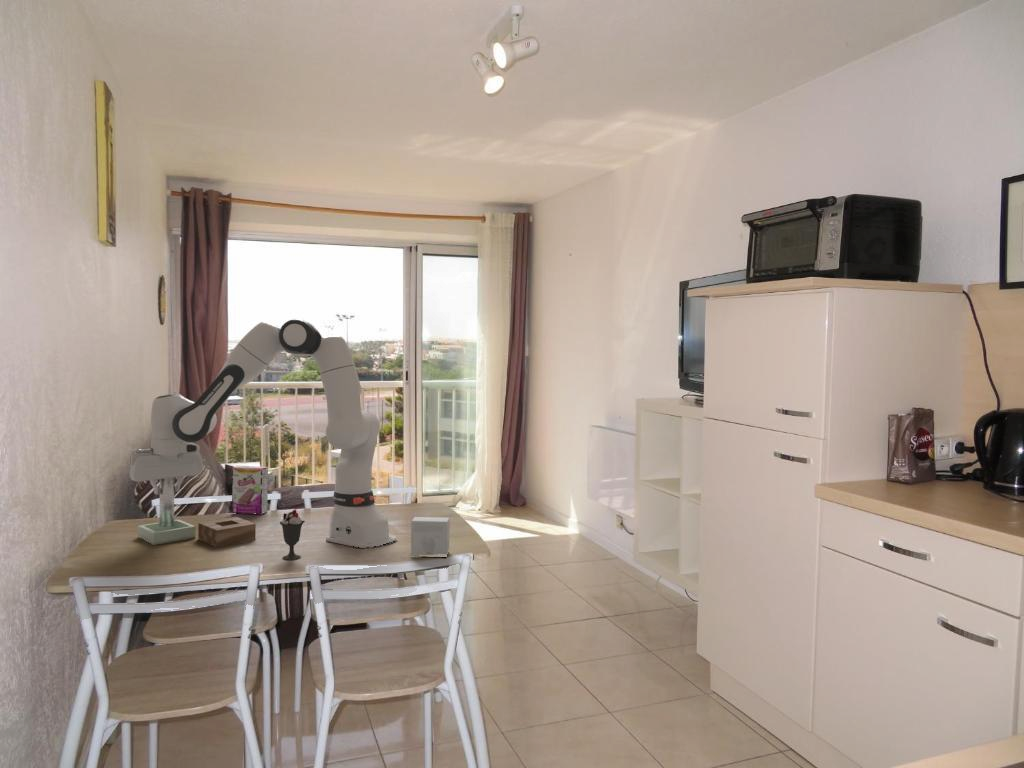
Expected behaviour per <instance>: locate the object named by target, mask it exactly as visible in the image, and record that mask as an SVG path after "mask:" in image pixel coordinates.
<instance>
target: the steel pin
mask: <svg viewBox="0 0 1024 768" xmlns="http://www.w3.org/2000/svg"><path fill="white" fill-rule="evenodd" d="M174 485H175V477H174V478H173V477H168V478H165V479H159V487H160V488H161V494H159V512H158V513H159V522H158V523H159V526H160V527H171V526H174V520H175V492H174Z"/></svg>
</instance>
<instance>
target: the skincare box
mask: <svg viewBox="0 0 1024 768" xmlns="http://www.w3.org/2000/svg"><path fill="white" fill-rule="evenodd" d="M450 520H451V519H450V517H437V516H436V517H428V516H426V517H425V516H424V517H423V516H414V517H413V519H411V521H410V525H411V527H410V528H411V529H410V533H411V534H410V536H411V537H410V557H411V556H419V555H434V554H436V555H437V554H447V553H448V550H449V551H450V532H451V530H450V525H451V524H450Z"/></svg>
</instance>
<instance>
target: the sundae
mask: <svg viewBox="0 0 1024 768" xmlns="http://www.w3.org/2000/svg"><path fill="white" fill-rule="evenodd" d="M299 507H300V505H298V504H297V506H296V507H295V508H294V509H293V510H292V511H290V512H288V513H283V518H282V520H281V521H279V524H280V525H281V527H282V533H283V541H284V543H285V544H286V545H288V547H289V552H288V554H287V555H284V556H283V557H282V559H283V561H297V560H299V559H301V558H302V556H301V555H299V554H296V553H295V546H296V545H297V544H298V542H300V537H301V532H302V526H303V524H304V523H305V520H302V519H301V517H300V516H299V513H298V512H297V509H298V508H299Z"/></svg>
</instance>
